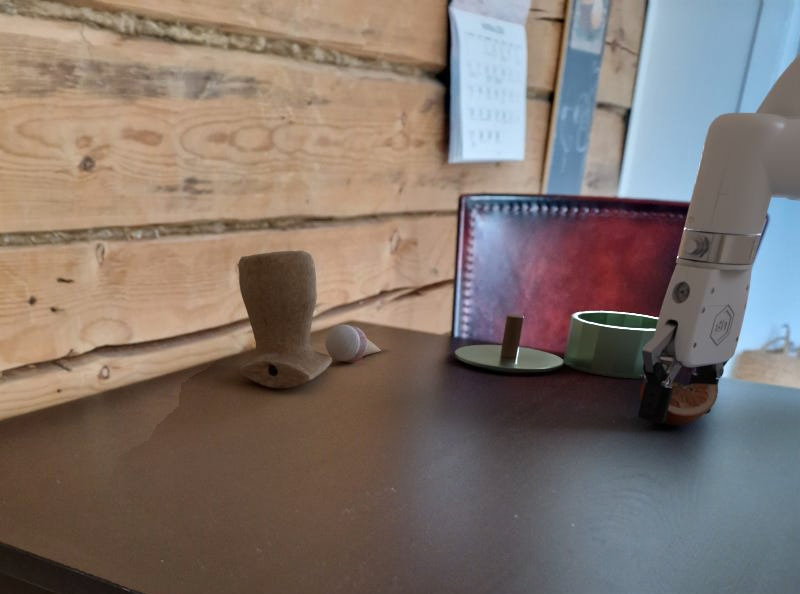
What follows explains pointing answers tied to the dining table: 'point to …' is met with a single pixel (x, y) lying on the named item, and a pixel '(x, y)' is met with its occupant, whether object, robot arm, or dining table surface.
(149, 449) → the dining table surface
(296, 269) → the brown flared upright piece
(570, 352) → the pan
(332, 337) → the ice cream cone
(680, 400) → the fruit slice
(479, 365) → the lid
